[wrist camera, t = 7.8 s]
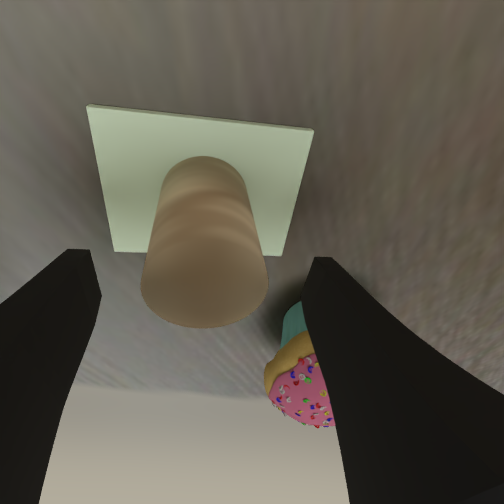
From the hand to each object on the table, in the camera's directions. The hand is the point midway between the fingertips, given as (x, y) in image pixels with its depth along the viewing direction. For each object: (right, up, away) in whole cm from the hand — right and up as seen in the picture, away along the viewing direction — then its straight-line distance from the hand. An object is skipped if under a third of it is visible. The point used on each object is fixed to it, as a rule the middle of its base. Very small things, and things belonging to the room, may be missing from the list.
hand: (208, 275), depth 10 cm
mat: (-1, +4, +4) cm, 6 cm away
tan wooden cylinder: (-1, +3, +4) cm, 5 cm away
